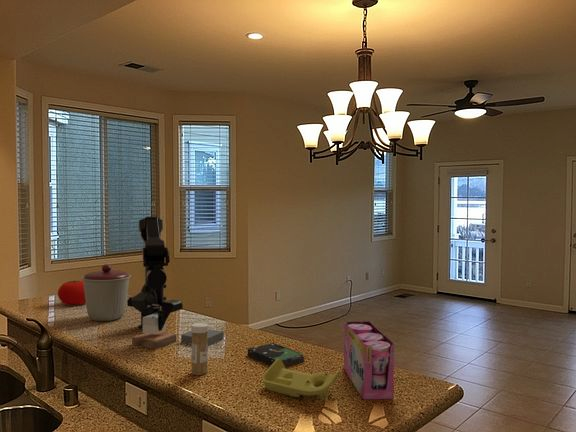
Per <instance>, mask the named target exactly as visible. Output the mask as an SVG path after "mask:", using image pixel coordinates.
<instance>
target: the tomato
mask: <svg viewBox="0 0 576 432" xmlns="http://www.w3.org/2000/svg"><path fill="white" fill-rule="evenodd" d="M57 296H58V299H59V300H60V302H62V304H65V305H67V306H75V305H76V306H78V305H83V304H86V300H85V291H84V282H83V280H72V281H71V280H69V281H66V282H64V283H63V284H62V285H60V286H59V288H58V290H57Z"/></svg>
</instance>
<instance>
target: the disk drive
mask: <svg viewBox="0 0 576 432" xmlns="http://www.w3.org/2000/svg"><path fill="white" fill-rule="evenodd" d="M247 356H248V357H250V358H252V359H255V360H256V361H259V362H261V363H264V364H266V365H269V366H271V365H272V364H273V363H274V362H275V360H276V359H280V360H281V361H282V362H283V364H284V366H285V367H286V368H287V367H290V366H292V365H295V364H299V363H304V362H305V356H304V354H303V353H301V352H299V351H296V350H293V349H290V348H289V347H285V346H283V345H280V344H277V343H274V342H271V343H267V344H262V345H259V346H258V347H254V346H253V347H249V348H247Z"/></svg>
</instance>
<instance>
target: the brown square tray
mask: <svg viewBox="0 0 576 432" xmlns="http://www.w3.org/2000/svg"><path fill="white" fill-rule="evenodd" d="M173 342H174V343H176V342H177V334H175V333H171V332H170V333H169V332H164V331H161V332H159V333H156V334H149V333H142V334H139V335H136V336H133V337H131V345H132V346H134V347H135V346H137V347H141V348H147V349H152V350H158V348H159V349H161V348H163V346H164V347H165V345H166V346H168V344H169V345H170V343H171V344H173ZM160 347H161V348H160Z"/></svg>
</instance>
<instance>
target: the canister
mask: <svg viewBox="0 0 576 432" xmlns="http://www.w3.org/2000/svg"><path fill="white" fill-rule="evenodd" d="M131 277H132V276H131V274H129V273H127V271H123V270H112V265H110V264H108V263H107V264H106V263H105V264H103V265H102V266H101V270H96V271H95V270H94V271H91V272H87V273H85V275H82V276H80V278H81V281H83V282H84V291H85V300H86V303H85V305H86V313H87V316H88V317H89V319H91V320H93V321H96V322H107V321H108V322H110V321H115V320H118V319H121V318H122V317H124V314H125V312H126V308H127V301H128V293H129V283H130V278H131Z"/></svg>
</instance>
